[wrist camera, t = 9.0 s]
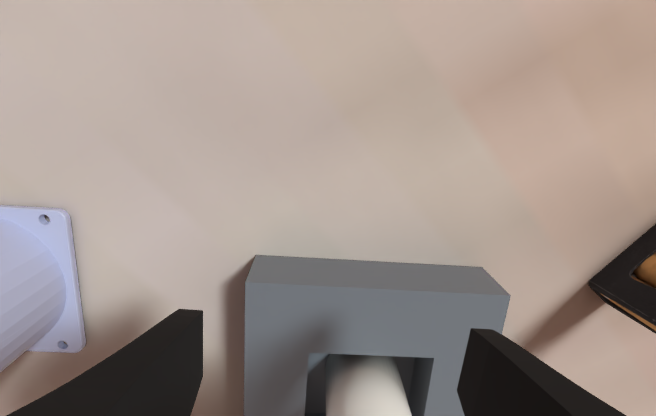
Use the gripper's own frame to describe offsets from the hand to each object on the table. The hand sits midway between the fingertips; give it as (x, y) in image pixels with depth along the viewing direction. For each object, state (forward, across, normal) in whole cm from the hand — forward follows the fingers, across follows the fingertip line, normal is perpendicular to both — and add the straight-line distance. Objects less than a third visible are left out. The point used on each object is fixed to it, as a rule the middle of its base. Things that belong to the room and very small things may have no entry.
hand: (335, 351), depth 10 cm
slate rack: (+9, -3, +12) cm, 16 cm away
